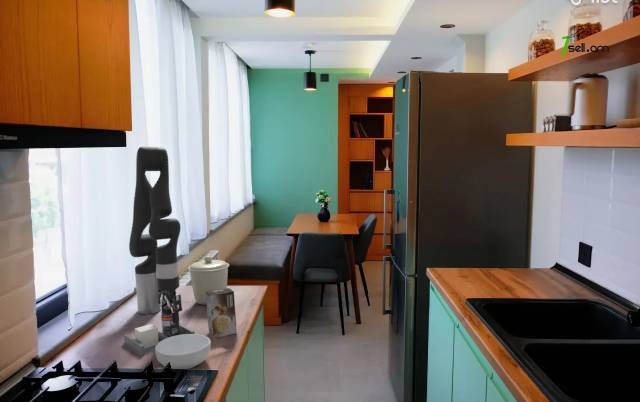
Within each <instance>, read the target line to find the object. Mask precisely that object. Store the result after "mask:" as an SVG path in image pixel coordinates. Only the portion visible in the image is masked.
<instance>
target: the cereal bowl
mask: <svg viewBox="0 0 640 402" xmlns="http://www.w3.org/2000/svg"><path fill="white" fill-rule="evenodd" d="M211 344H212V343H211V339H210V338H209V337H208V336H205V335H203V334H197V333H196V334H195V333H194V334H183V335H177V336H172V337H169V338H166V339H164V340H162V341H160V342H159V343H158V344H157V345H156V347H155V357H156V360H157V362H158V363H159V364H161V366H164V367H165V366H166V364H167V363H168V362H170V365H171V368H170V369H173V370H175V369H185V370H189V369H192V368H194V367H195V366H198V365H199V364H201V363H202V362H204V361H205V360H206V359H207V358H208V356H209V354H210V352H211V347H212V346H211Z"/></svg>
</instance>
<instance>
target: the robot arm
mask: <svg viewBox="0 0 640 402" xmlns="http://www.w3.org/2000/svg"><path fill="white" fill-rule="evenodd" d="M168 154H169V153H168V151H167V149H166V148H164V147H162V146H160V147H159V146H140V147H139V148H138V149H137V152H136V159H135V161H136V163H135V164H136V165H135V170H136V171H135V172H136V173H135V174H136V175H135V188H134V197H133V213H132V224H131V225H132V226H131V231H130V237H129V242H128V243H129V245H128V247H129V254H130V256H131V257H133V258H143V257H147V258H146V259H145V260H144V261H142V262H141V263H139V264H136V266H135V267H134V274H135V288H136V290H135V291H136V303H137V313H138V314H140V315H151V314H156V313H158V312H161V314H162V313H163V312H164V311H163V307H165V306H168V307H169V308H171V311H172V322H173V323H178V322H179V323H180V313H179V312H182V310H183V306H182V305H183V304H182V295H181V294H180V293H179V294H177V291H176V290H177V289H179V287H180V274H179V273H180V272H179V264H178V255H177V254H178V252H177V251H178V243H179V237H180V234H181V233H180V232H181V223H180V221H179V220H178V219H177V218H174V217H172V218H170V216H171V214H172V212H173V206H172V201H171V196H170V195H171V194H170V167H169V156H168ZM146 172H159V177H158V179H157V180H156V182H155V183H154V185H153V186H152V185H151V183H150V182H149V179H148V178H147V175H146ZM167 217H169V218H167ZM148 225H149V226H148ZM147 227H148V233H146V234H145V233H144V234H143V232H144V231H145V230H146V228H147ZM158 240H169V241H168V242H167V243H164V244H163V245H159V246H158ZM173 307H174V308H173Z"/></svg>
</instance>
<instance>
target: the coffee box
mask: <svg viewBox="0 0 640 402" xmlns="http://www.w3.org/2000/svg"><path fill="white" fill-rule="evenodd" d="M235 300H236V299H235V291H234V290H232V289H231V288H229V287H227V288H225V289H219V290H213V291H207V292H206V301H207V305H206V311H207V312H206V313H207V326H208V327H207V328H208V330H207V331H208V334H209V336H212V337H213V338H216V339H217V338H221V337H226V336H230V335H235V334H237V332H238V330H237V329H238V328H237V320H236V318H237V317H236V315H237V314H236V304H235V303H236V302H235Z"/></svg>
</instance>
